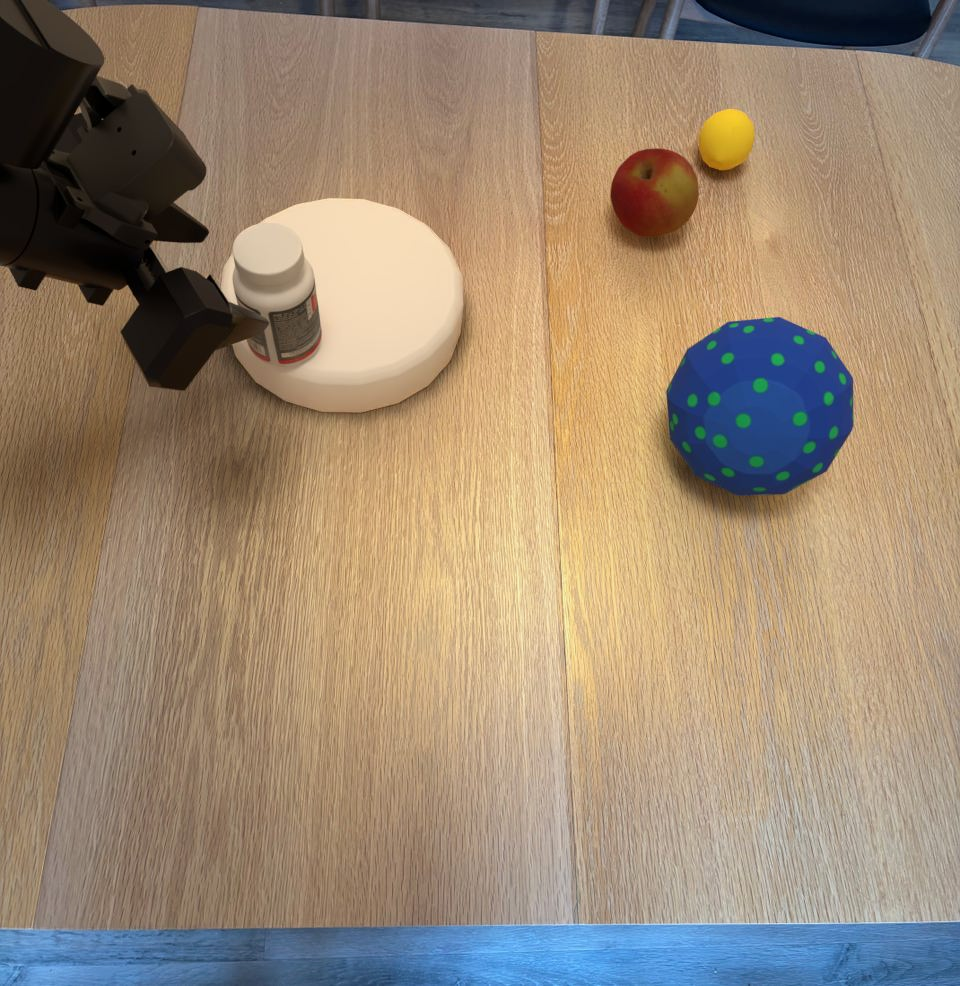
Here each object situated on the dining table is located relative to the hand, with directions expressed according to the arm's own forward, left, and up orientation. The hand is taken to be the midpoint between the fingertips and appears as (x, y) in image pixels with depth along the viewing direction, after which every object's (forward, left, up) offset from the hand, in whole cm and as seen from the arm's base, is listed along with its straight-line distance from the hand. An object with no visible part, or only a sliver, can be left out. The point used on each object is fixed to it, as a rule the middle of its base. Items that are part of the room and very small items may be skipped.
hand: (234, 279), depth 59 cm
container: (+8, +6, -13) cm, 17 cm away
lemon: (+49, +18, -13) cm, 54 cm away
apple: (+38, +11, -13) cm, 42 cm away
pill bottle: (+3, +1, -8) cm, 9 cm away
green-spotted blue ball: (+36, -14, -13) cm, 41 cm away
